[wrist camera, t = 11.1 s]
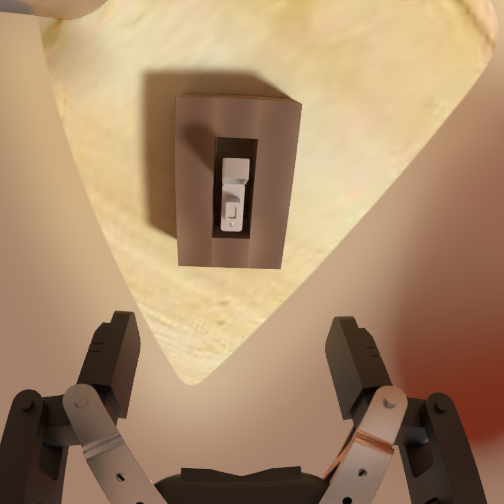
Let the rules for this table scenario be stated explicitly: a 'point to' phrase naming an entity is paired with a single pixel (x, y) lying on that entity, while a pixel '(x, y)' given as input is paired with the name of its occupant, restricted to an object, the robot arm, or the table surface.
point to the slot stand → (262, 178)
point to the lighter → (233, 192)
